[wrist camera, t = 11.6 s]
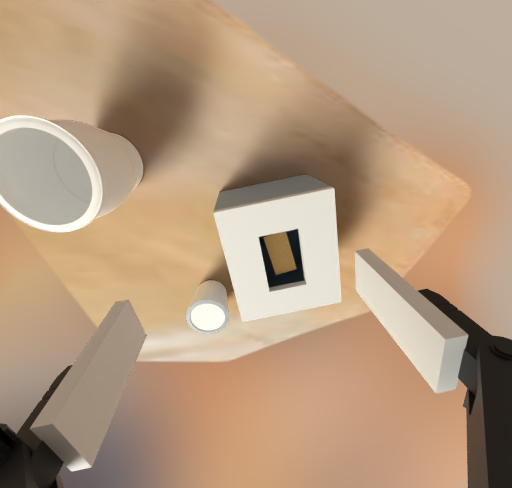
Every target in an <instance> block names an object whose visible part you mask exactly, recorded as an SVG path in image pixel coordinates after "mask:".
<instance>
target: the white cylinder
mask: <svg viewBox="0 0 512 488" xmlns="http://www.w3.org/2000/svg"><path fill="white" fill-rule="evenodd" d="M186 320H187V322H188V324H189V326H190V327H191V328H192V329H194V330H195V331H197V332H200V333H203V334H213V333H216V332H219V331H221V330H222V329H223V328H224V327H226V325H227V323H228V321H229V311H228V301H227V291H226V289H225V287H224V285H222V284H221V283H220V282H218V281H215V280H208V281H205V282H202V283H201V284H200V285H199V286H198V288H197V290H196V292H195V295H194V297H193V299H192V302H191V304H190V306H189V309H188V311H187V313H186Z"/></svg>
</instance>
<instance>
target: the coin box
mask: <svg viewBox="0 0 512 488" xmlns="http://www.w3.org/2000/svg"><path fill="white" fill-rule="evenodd" d="M213 213H214V217H215V221H216V225H217V228H218V232H219V236H220V240H221V243H222V247H223V251H224V255H225V258H226V262H227V266H228V270H229V273H230V277H231V281H232V285H233V288H234V292H235V296H236V300H237V303H238V307H239V311H240V315H241V319H242V322H245V321H250V320H255V319H260V318H265V317H270V316H275V315H280V314H285V313H290V312H295V311H300V310H305V309H310V308H315V307H320V306H325V305H330V304H334V303H339V302H341V286H340V270H339V254H338V238H337V222H336V206H335V190H334V188H333V187H332V186H330V185H328V184H326V183H324V182H322V181H320V180H318V179H316V178H314V177H312V176H310V175H308V174H304V175H299V176H294V177H289V178H284V179H279V180H275V181H270V182H265V183H260V184H255V185H250V186H245V187H240V188H236V189H231V190H226V191H221V192H219V195H218V199H217V202H216V205H215V209H214V212H213ZM285 231H286V234H287V237H288V240H289V244H290V247H291V251H292V254H293V258H294V261H295V265H296V268H297V269H295V270H292V271H288V272H285V273H282V274H279V275H276V274H275V271H274V268H273V265H272V262H271V259H270V256H269V253H268V250H267V247H266V244H265V241H264V238H263V236H265V235H270V234H275V233H280V232H285Z"/></svg>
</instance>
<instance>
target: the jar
mask: <svg viewBox="0 0 512 488" xmlns="http://www.w3.org/2000/svg"><path fill="white" fill-rule="evenodd" d="M142 176H143V163H142V159H141V157H140V154H139V153H138V151H137V149H136V148H135V147H134V146H133V144H132V143H130V142H129V141H128V140H127V139H125V138H124V137H122V136H120V135H118V134H115V133H109V132H107V131H105V130H102V129H99V128H97V127H95V126H92V125H90V124H86V123H83V122H78V121H73V120H46V119H43V118H38V117H32V116H11V117H7V118H4V119H1V120H0V205H1V206H2V207H3V208H4V209H5V210H6V211H8V212H9V213H10V214H11V215H13V216H14V217H15V218H17V219H18V220H20V221H22V222H23V223H25V224H27V225H30V226H32V227H34V228H37V229H40V230H44V231H49V232H70V231H74V230H77V229H80V228H83V227H85V226H86V225H88V224H90V223H91V222H92V221H93V220H94V219H95V218H98V217H101V216H103V215H105V214H107V213H109V212H111V211H113V210H114V209H116V208H117V207H118V206H119V205H120V204H121V203H122V202H123V201H124V200H125V199H126V198H127V196H128V195H129V194H130V193H131V191H132V190H133V189H135V188H136V187H137V186H138V185H139V183H140V182H141V179H142Z"/></svg>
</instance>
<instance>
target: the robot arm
mask: <svg viewBox="0 0 512 488" xmlns="http://www.w3.org/2000/svg"><path fill="white" fill-rule="evenodd" d="M355 272H356V291H357V293H358V294H359V295H360V296H361V298H362V299H363V300H364V302H365V303H366V304H367V305H368V307H369V308H370V309H371V311H372V312H373V313H374V314H375V316H376V317H377V318H378V319H379V321H380V322H381V323H382V325H383V326H384V327H385V328H386V330H387V331H388V332H389V334H390V335H391V336H392V338H393V339H394V340H395V341H396V343H397V344H398V345H399V347H400V348H401V349H402V350H403V352H404V353H405V354H406V355H407V357H408V358H409V359H410V361H411V362H412V363H413V364H414V366H415V367H416V368H417V370H418V371H419V372H420V373H421V375H422V376H423V377H424V378H425V380H426V381H427V382H428V384H429V385H430V386H431V388H432V389H433V390H434V391H435V393H441V392H446V391H450V390H455V389H456V388H457V383H458V379H460V380H461V381H462V382H463V383H464V385H465V386H466V387H467V388H468V389H467V392H466V397H465V400H464V404H463V407H465V408H466V409H467V464H468V488H512V340H510V339H507V338H504V337H499V336H492V335H490V334H489V333H488V332H486V331H485V330H484V329H483V328H481V327H480V326H479V325H478V324H477V323H475V322H474V321H473V320H471V319H470V318H469V317H468V316H466V315H465V314H464V313H462V312H461V311H459V310H458V309H457V308H456V307H455V306H453V305H452V304H450V302H449V301H447V300H446V299H445V298H444V297H442V296H441V295H440V294H437V293H435V292H433V291H431V290H428V289H424V290H419V291H417V290H416V289H415V288H414V287H412V286H411V285H410V284H409V283H408V282H407V281H405V280H404V279H403V278H402V277H401V276H400V275H398V274H397V273H396V272H395V271H394V270H393V269H391V268H390V267H389V266H388V265H387V264H386V263H385V262H383V261H382V260H381V259H380V258H379V257H378V256H376V255H375V254H374V253H373V252H372V251H371V250H369V249H363V250H358V251H355ZM146 336H147V335H146V333H145V331H144V329H143V327H142V325H141V323H140V321H139V319H138V317H137V315H136V313H135V311H134V309H133V307H132V305H131V303H130V301H129V300H124V301H119V302H115V304H114V305H113V306H112V308H111V309H110V311H109V312H108V314H107V315H106V317H105V318H104V320H103V321H102V323H101V324H100V326H99V327H98V329H97V330H96V332H95V333H94V335H93V336H92V337H91V339H90V340H89V342H88V343H87V345H86V346H85V348H84V349H83V351H82V352H81V354H80V355H79V357H78V358H77V359H76V361H75V362H74V364H73V365H71V366H68V367H67V368H66V369H65V370H64V371H63V372H62V373H61V374H60V375H59V376H58V377H57V378H56V379H55V381H54V382H53V384H52V385H51V386H50V388H49V391H47V392H46V393H45V395H44V396H43V398H42V400H41V401H40V402H39V403H38V404H37V406H36V407H35V409H34V410H33V412H32V413H31V414H30V416H29V417H28V419H27V420H26V422H25V423H24V424H23V426H22V427H21V428H20V430H19V432H18V433H17V434H16V433H15V432H14V431H13V430H11V429H10V427H8V426H7V425H6V424H0V488H64V487H63V482H62V479H61V477H60V476H59V475H58V473H59V471H60V469H61V467H62V465H63V463H64V464H65V465H66V466H67V467H68V468H69V469H70V470H71V471H76V470H81V469H85V468H90V467H92V465H93V463H94V460H95V458H96V456H97V453H98V451H99V448H100V446H101V443H102V441H103V439H104V436H105V434H106V432H107V429H108V427H109V424H110V422H111V419H112V417H113V415H114V412H115V410H116V407H117V405H118V403H119V400H120V398H121V396H122V393H123V391H124V388H125V386H126V384H127V381H128V378H129V376H130V374H131V372H132V369H133V367H134V364H135V362H136V360H137V357H138V355H139V352H140V350H141V348H142V345H143V343H144V340H145V338H146Z"/></svg>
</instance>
